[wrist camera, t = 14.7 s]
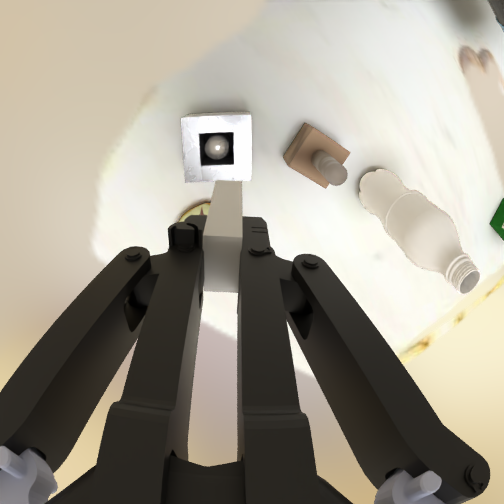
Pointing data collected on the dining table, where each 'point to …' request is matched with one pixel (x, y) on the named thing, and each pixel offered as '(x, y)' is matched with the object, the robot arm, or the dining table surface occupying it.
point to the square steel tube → (194, 147)
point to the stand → (317, 157)
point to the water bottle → (419, 228)
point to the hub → (219, 144)
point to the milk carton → (499, 220)
